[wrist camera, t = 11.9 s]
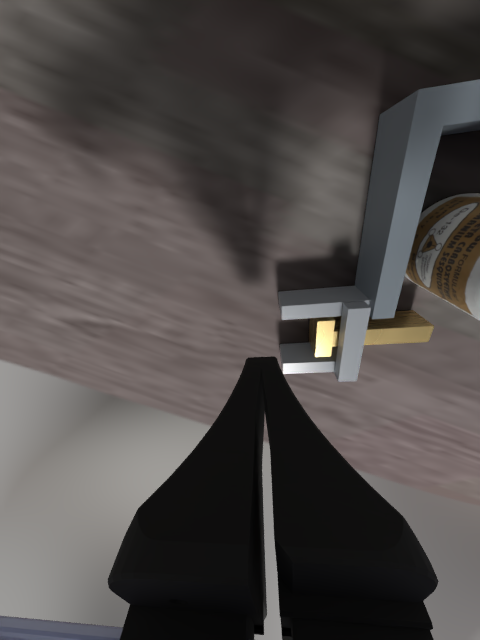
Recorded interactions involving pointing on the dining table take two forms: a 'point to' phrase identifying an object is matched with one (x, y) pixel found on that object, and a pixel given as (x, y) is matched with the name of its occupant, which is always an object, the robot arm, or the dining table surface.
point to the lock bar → (370, 331)
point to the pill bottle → (449, 252)
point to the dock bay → (383, 225)
